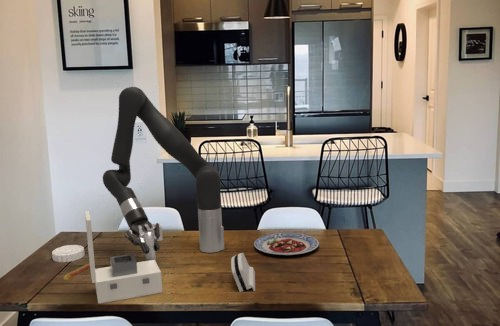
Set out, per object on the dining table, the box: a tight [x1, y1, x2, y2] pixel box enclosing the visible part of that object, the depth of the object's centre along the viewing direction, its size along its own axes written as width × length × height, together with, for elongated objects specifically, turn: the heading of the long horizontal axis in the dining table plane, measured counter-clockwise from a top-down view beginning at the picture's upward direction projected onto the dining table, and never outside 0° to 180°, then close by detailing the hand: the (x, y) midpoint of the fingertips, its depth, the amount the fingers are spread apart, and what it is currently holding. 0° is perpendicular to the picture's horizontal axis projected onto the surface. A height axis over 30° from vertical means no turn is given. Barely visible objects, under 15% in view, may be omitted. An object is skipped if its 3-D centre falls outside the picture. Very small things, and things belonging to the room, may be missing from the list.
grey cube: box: [151, 223, 164, 242], centre depth 217 cm, size 6×6×6 cm
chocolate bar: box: [63, 262, 90, 281], centre depth 181 cm, size 3×12×2 cm, turn 155°
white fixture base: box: [84, 210, 163, 304], centre depth 162 cm, size 21×13×27 cm, turn 110°
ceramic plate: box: [253, 232, 320, 256], centre depth 201 cm, size 26×26×3 cm
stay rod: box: [143, 230, 157, 262], centre depth 183 cm, size 4×4×12 cm
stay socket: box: [109, 253, 137, 277], centre depth 163 cm, size 8×8×4 cm
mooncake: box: [51, 244, 85, 263], centre depth 199 cm, size 12×12×4 cm
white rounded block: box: [230, 252, 256, 293], centre depth 169 cm, size 17×5×10 cm, turn 0°
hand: (152, 251), depth 182 cm, fingers closed on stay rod, 3 cm apart
